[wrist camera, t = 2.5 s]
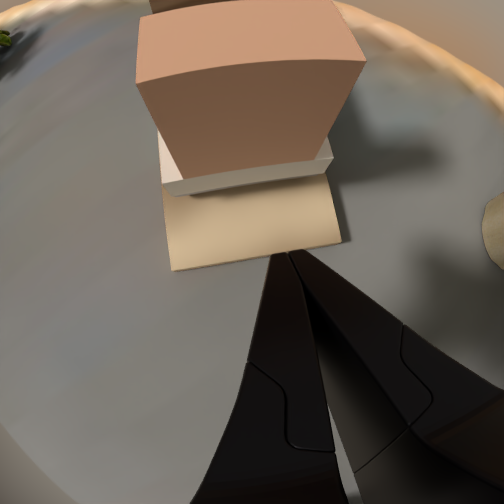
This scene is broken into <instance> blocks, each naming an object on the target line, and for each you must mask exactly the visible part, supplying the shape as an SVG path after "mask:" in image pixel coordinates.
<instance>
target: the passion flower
mask: <svg viewBox="0 0 504 504" xmlns="http://www.w3.org/2000/svg"><path fill="white" fill-rule="evenodd" d="M8 35H10V33H9V32H8V31H3V30H0V45H1V46H10V45H11V44H12V42H11V39H10V37H8Z"/></svg>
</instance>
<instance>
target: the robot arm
mask: <svg viewBox="0 0 504 504" xmlns="http://www.w3.org/2000/svg"><path fill="white" fill-rule="evenodd" d="M327 403H328V405H327ZM328 406H329V409H330V411H331V414H332V417H333V419H334V422H335V425H336V427H337V430H338V433H339V436H340V438H341V441H342V444H343V446H344V449H345V452H346V455H347V457H348V460H349V463H350V466H351V468H352V471H353V473H354V477H355V480H356V483H357V485H358V488H359V491H360V494H361V497H362V500H363V502H364V504H504V390H503V389H500V388H498V387H496V386H495V385H493V384H491V383H490V382H488V381H486V380H485V379H483V378H482V377H480V376H479V375H477V374H476V373H474V372H473V371H471V370H469V369H468V368H466V367H465V366H463V365H462V364H460V363H458V362H457V361H455V360H454V359H452V358H451V357H449V356H448V355H446V354H445V353H443V352H442V351H440V350H439V349H437V348H436V347H434V346H433V345H432V344H430V343H429V342H428V341H426V340H425V339H424V338H422V337H421V336H420V335H418V334H417V333H416V332H414V331H413V330H412V329H410V328H409V327H408V326H407V325H403V323H402V322H401V321H400V320H399V319H397V318H396V317H395V316H393V315H392V314H391V313H390V312H388V311H387V310H386V309H384V308H383V307H382V306H380V305H379V304H378V303H376V302H375V301H374V300H372V299H371V298H370V297H369V296H367V295H366V294H365V293H363V292H362V291H361V290H359V289H358V288H357V287H355V286H354V285H353V284H351V283H350V282H348V281H347V280H346V279H344V278H343V277H342V276H340V275H339V274H338V273H336V272H335V271H334V270H332V269H331V268H330V267H328V266H327V265H325V264H324V263H323V262H321V261H320V260H319V259H317V258H316V257H314V256H313V255H312V254H310V253H309V252H308V251H306V250H305V249H297V250H291V251H289V252H288V253H287V252H279V253H274V254H271V255H270V259H269V264H268V268H267V273H266V277H265V282H264V287H263V291H262V296H261V300H260V305H259V309H258V314H257V318H256V322H255V327H254V331H253V336H252V340H251V345H250V349H249V353H248V358H247V363H246V365H245V369H244V374H243V378H242V381H241V385H240V389H239V392H238V396H237V399H236V402H235V405H234V408H233V410H232V413H231V416H230V419H229V421H228V424H227V426H226V429H225V431H224V433H223V436H222V438H221V440H220V443H219V445H218V447H217V450H216V452H215V454H214V457H213V459H212V461H211V464H210V466H209V468H208V470H207V473H206V475H205V477H204V479H203V481H202V483H201V485H200V487H199V489H198V491H197V492H196V494H195V496H194V497H193V499H192V500H191V502H190V504H349V502H348V499H347V496H346V493H345V491H344V488H343V485H342V481H341V477H340V473H339V468H338V463H337V458H336V454H335V445H334V439H333V433H332V427H331V422H330V416H329V410H328Z"/></svg>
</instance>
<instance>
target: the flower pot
mask: <svg viewBox="0 0 504 504" xmlns="http://www.w3.org/2000/svg"><path fill="white" fill-rule="evenodd" d="M482 234H483V240H484V244H485V247H486V250H487V252H488V254H489V256H490V258H491V260H492V261H494V262H495V263H496V264H497V265H498V266H499V267H500V268H501V269H503V270H504V192H503V193H501V194H500V195H498V196H497V197H495V198H493V199H492V200H490V201H489V202H488V203H487V205H486V207H485V214H484V218H483V221H482Z"/></svg>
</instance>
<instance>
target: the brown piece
mask: <svg viewBox="0 0 504 504" xmlns="http://www.w3.org/2000/svg"><path fill="white" fill-rule="evenodd" d="M366 62H367V61H366V59H365V57H364V55H363V53H362V51H361V49H360V47H359V45H358V43H357V42H356V40H355V38H354V36H353V34H352V33H351V31H350V29H349V27H348V26H347V24H346V22H345V21H344V19H343V17H342V16H341V14H340V12H339V11H338V9H337V8H336V6H335V4H334V3H333V1H332V0H238V1H227V2H218V3H210V4H203V5H197V6H191V7H185V8H180V9H175V10H170V11H165V12H161V13H157V14H152V15H148V16H145V17H141V18H140V26H139V37H138V50H137V66H136V85H137V87H138V89H139V91H140V94H141V96H142V98H143V100H144V102H145V104H146V106H147V108H148V110H149V112H150V114H151V116H152V118H153V120H154V122H155V124H156V126H157V128H158V136H159V152H160V166H161V178H162V184H163V186H164V187H165V188H166V190H167V191H168V193H169V194H170V195H171V197H173V196H175V197H181V196H186V195H192V194H197V193H203V192H208V191H214V190H220V189H226V188H232V187H238V186H244V185H251V184H258V183H264V182H271V181H278V180H286V179H293V178H301V177H310V176H317V175H318V174H322V173H324V172H325V170H326V169H327V167H328V166H329V165H330V163H331V162H332V160H333V159H334V157H333V153H332V150H331V147H330V143H329V140H328V137H327V135H328V133H329V131H330V129H331V127H332V126H333V124H334V122H335V120H336V118H337V116H338V114H339V112H340V111H341V109H342V107H343V105H344V103H345V101H346V99H347V97H348V96H349V94H350V92H351V90H352V88H353V86H354V84H355V82H356V80H357V79H358V77H359V75H360V73H361V71H362V69H363V67H364V65H365V63H366Z"/></svg>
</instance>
